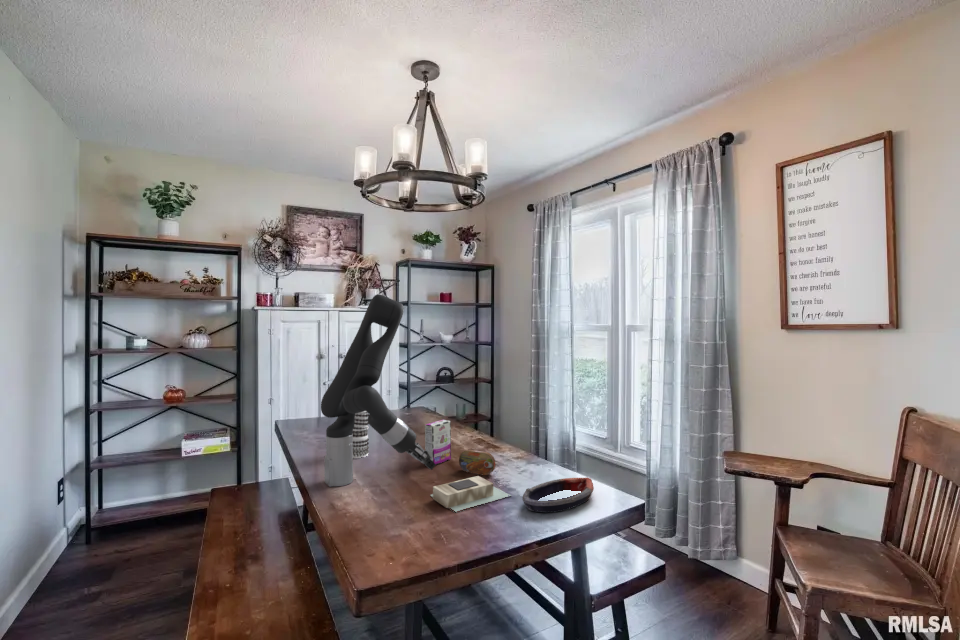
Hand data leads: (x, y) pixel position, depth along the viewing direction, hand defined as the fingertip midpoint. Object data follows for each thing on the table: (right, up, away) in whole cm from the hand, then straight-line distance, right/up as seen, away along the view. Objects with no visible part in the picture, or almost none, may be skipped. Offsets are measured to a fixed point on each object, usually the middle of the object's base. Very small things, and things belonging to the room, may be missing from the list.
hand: (432, 466), depth 146 cm
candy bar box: (-2, -12, +44) cm, 46 cm away
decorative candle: (-38, -12, +53) cm, 66 cm away
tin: (+14, -13, +32) cm, 37 cm away
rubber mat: (+12, -12, +8) cm, 19 cm away
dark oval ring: (+41, -13, +4) cm, 44 cm away
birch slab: (+2, -10, +1) cm, 10 cm away
